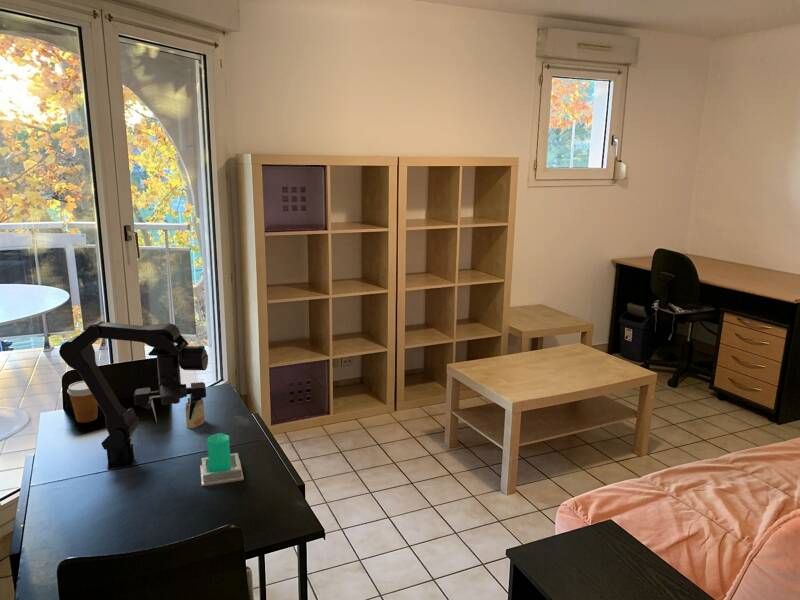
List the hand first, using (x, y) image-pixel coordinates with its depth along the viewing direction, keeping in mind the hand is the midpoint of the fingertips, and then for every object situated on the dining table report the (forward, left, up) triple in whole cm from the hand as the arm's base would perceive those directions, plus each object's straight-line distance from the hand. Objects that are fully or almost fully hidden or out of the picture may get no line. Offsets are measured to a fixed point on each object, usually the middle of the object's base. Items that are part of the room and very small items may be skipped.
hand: (172, 421), depth 172 cm
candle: (+12, -10, -13) cm, 20 cm away
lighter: (+6, +25, -13) cm, 29 cm away
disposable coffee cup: (-28, +40, -13) cm, 51 cm away
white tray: (+12, -7, -13) cm, 19 cm away
